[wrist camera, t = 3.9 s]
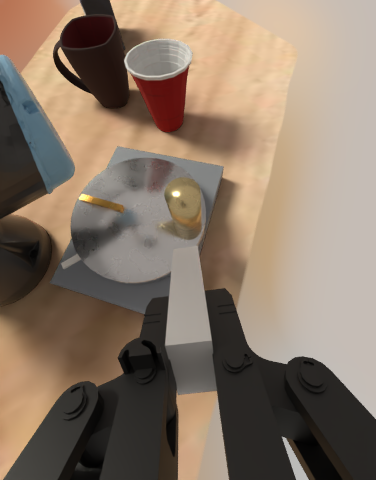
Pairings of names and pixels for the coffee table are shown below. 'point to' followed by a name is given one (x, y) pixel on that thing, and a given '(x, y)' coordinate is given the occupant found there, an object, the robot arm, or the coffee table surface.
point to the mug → (95, 58)
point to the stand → (134, 295)
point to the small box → (98, 8)
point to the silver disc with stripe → (137, 219)
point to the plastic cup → (161, 79)
